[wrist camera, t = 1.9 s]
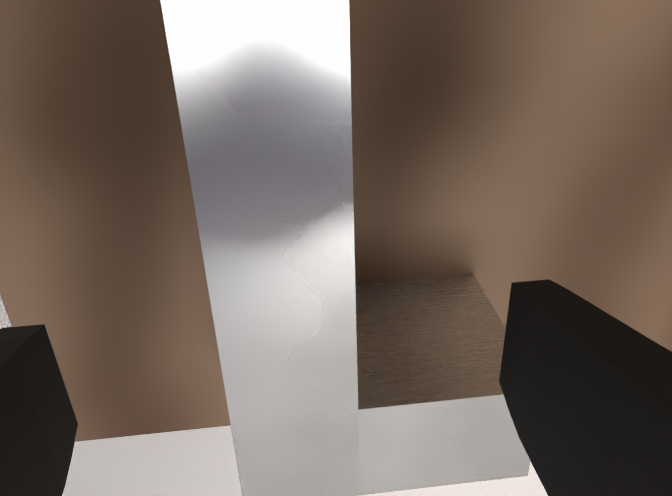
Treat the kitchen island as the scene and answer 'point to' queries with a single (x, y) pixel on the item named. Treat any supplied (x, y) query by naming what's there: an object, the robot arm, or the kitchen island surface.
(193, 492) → the kitchen island surface
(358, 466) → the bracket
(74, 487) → the kitchen island surface
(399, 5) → the board
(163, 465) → the kitchen island surface
